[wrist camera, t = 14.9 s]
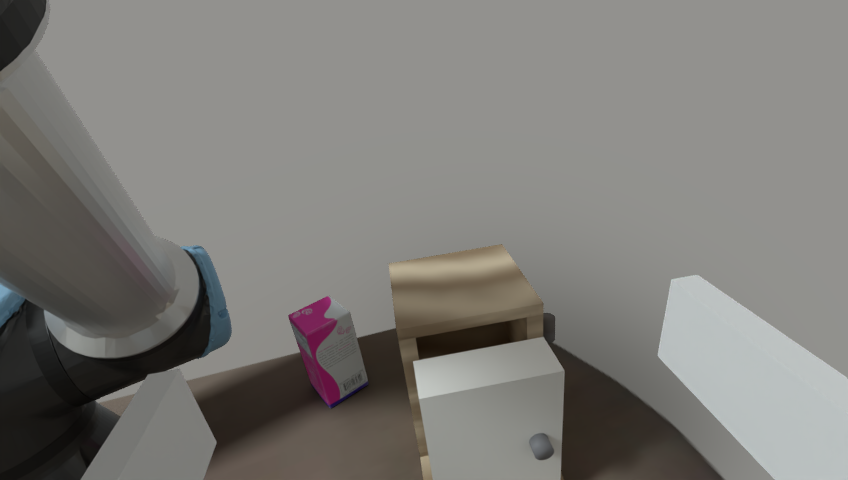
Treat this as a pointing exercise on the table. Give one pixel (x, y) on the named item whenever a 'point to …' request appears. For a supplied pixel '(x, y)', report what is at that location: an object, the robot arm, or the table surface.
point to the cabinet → (461, 312)
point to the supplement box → (329, 350)
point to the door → (493, 412)
